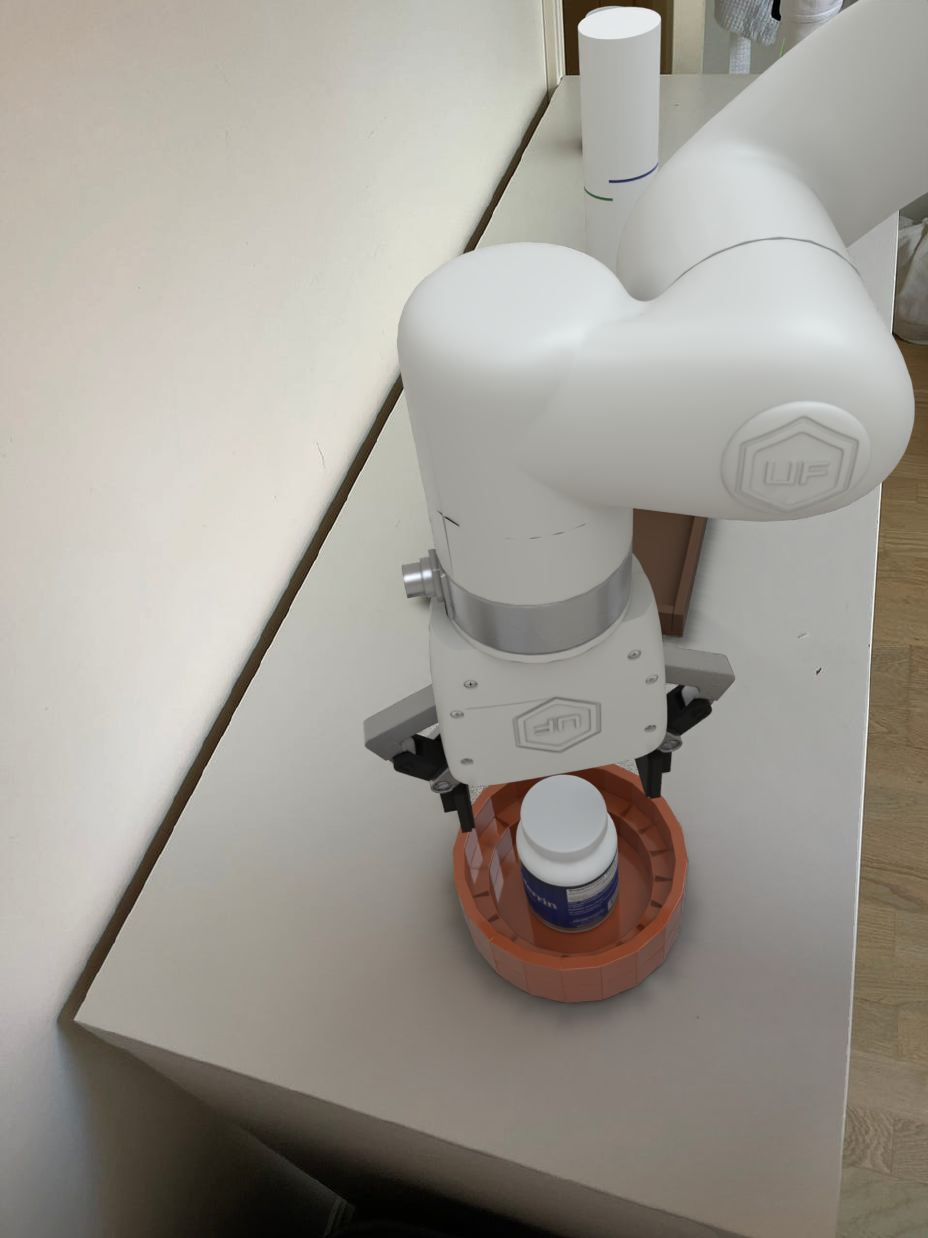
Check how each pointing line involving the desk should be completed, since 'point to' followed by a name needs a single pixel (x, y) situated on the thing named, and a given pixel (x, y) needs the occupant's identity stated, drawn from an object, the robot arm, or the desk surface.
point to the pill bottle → (568, 854)
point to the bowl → (589, 957)
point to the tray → (669, 561)
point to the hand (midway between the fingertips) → (555, 791)
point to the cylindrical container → (617, 119)
